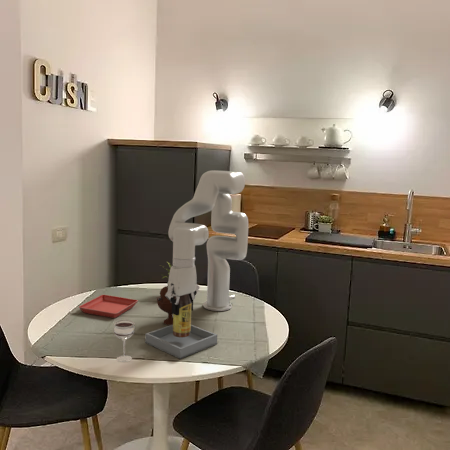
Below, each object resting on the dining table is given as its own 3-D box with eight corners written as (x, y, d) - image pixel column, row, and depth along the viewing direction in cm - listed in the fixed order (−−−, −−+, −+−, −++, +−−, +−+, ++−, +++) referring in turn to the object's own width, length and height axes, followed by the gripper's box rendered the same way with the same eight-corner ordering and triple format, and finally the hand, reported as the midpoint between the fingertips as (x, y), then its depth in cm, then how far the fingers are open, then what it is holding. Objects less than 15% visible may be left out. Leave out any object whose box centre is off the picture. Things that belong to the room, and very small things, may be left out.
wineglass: (138, 360, 158) (138, 325, 156) (118, 364, 154) (118, 329, 152) (129, 352, 164) (129, 318, 162) (110, 356, 160) (110, 322, 158)
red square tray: (116, 321, 193) (116, 313, 192) (77, 314, 198) (77, 306, 198) (138, 307, 210) (138, 300, 209) (102, 301, 215) (102, 294, 215)
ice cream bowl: (179, 328, 186) (180, 291, 184) (152, 325, 189) (152, 288, 186) (187, 319, 197) (188, 283, 194) (161, 316, 199) (161, 280, 196)
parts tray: (182, 329, 185) (182, 321, 185) (217, 343, 174) (217, 334, 173) (145, 343, 172) (145, 333, 171) (180, 359, 160) (180, 349, 160)
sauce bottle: (183, 339, 168) (184, 284, 164) (169, 335, 171) (169, 281, 168) (194, 333, 173) (195, 280, 170) (180, 329, 177) (181, 277, 173)
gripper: (193, 256, 177) (192, 304, 180) (157, 264, 164) (156, 315, 167) (208, 260, 172) (206, 309, 175) (172, 268, 159) (171, 320, 162)
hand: (182, 311), depth 171 cm, fingers closed on sauce bottle, 6 cm apart
